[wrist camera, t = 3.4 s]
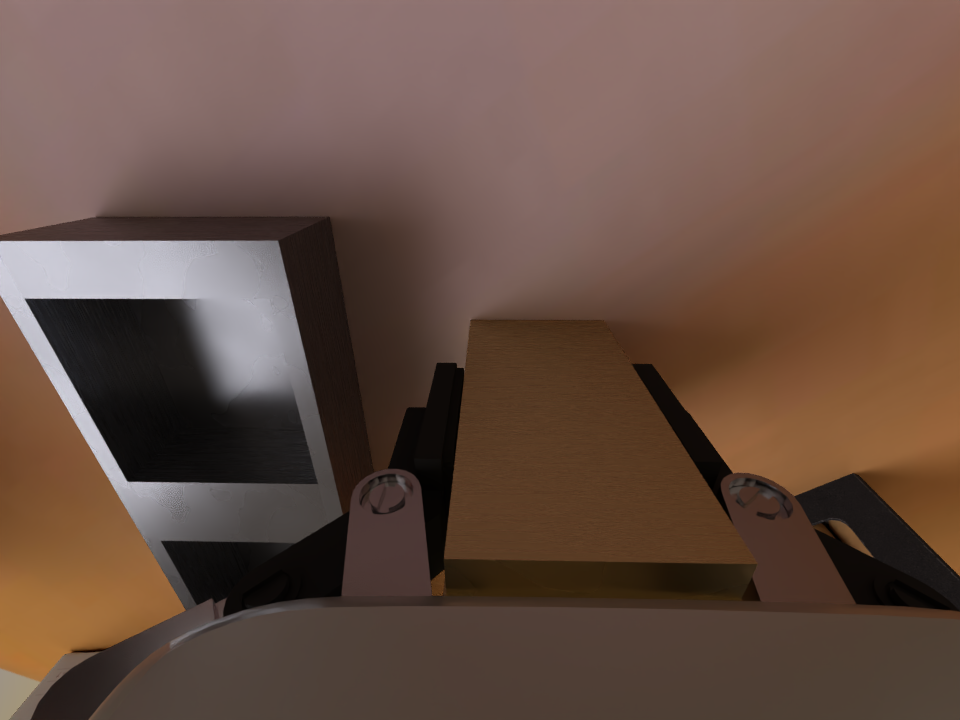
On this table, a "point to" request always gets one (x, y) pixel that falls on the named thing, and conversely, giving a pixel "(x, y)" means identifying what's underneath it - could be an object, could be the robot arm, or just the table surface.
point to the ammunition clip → (877, 532)
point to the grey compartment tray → (200, 377)
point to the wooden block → (577, 478)
